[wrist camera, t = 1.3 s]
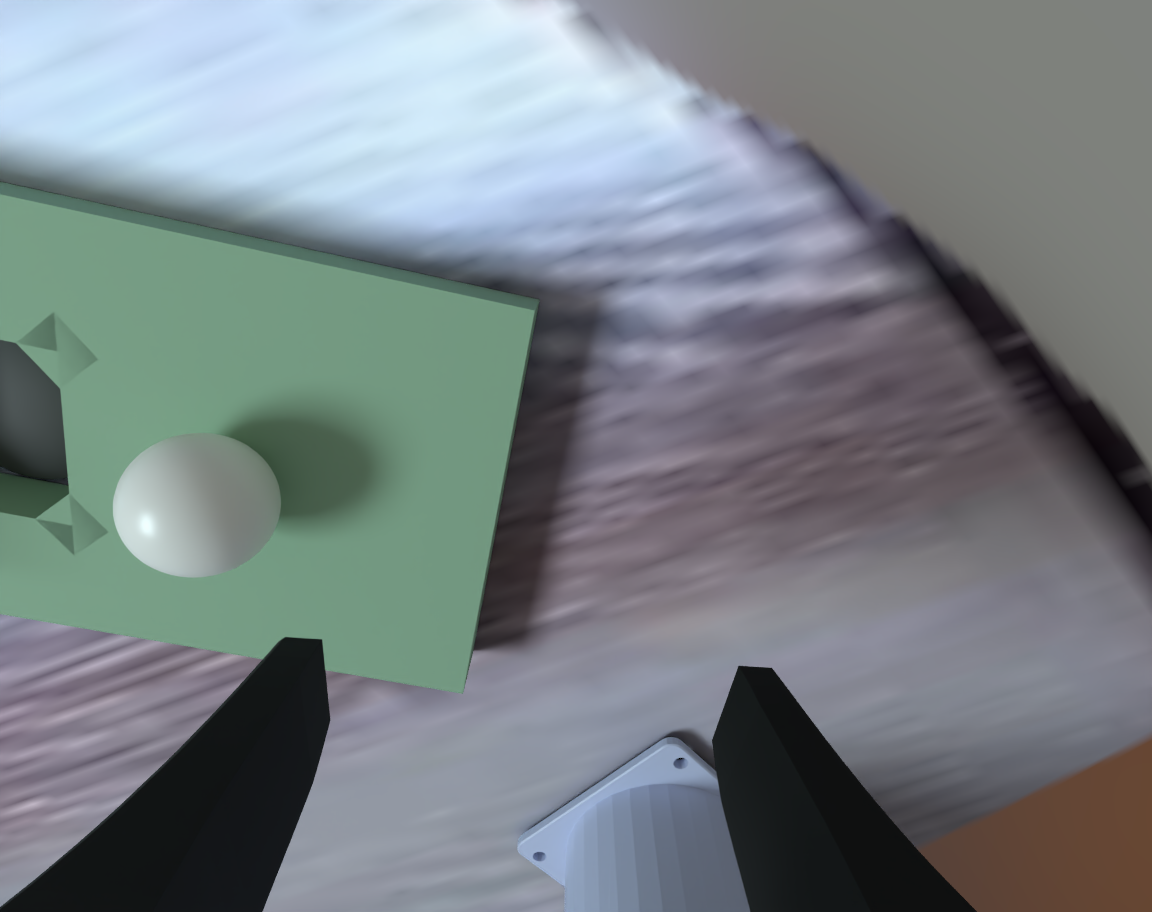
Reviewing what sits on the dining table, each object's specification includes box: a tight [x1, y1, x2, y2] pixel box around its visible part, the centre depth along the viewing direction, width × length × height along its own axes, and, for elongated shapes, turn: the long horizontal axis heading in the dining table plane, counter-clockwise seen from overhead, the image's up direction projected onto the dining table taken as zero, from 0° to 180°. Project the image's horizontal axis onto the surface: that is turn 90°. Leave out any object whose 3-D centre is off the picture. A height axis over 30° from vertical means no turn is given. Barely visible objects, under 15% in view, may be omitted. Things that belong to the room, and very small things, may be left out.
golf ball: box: [113, 433, 281, 578], centre depth 15 cm, size 4×4×4 cm
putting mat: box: [0, 182, 540, 694], centre depth 14 cm, size 22×12×9 cm, turn 78°
